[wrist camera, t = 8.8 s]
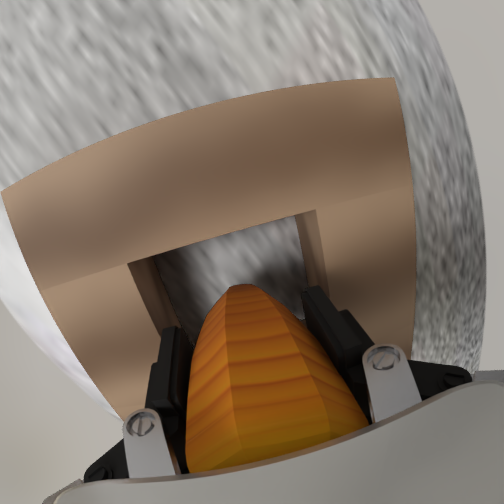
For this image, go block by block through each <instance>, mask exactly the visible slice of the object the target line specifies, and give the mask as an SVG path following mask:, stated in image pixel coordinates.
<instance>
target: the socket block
mask: <svg viewBox="0 0 504 504" xmlns="http://www.w3.org/2000/svg"><path fill="white" fill-rule="evenodd" d="M1 195H2V199H3V202H4V205H5V208H6V211H7V214H8V217H9V220H10V223H11V226H12V229H13V231H14V234H15V237H16V239H17V242H18V244H19V247H20V249H21V252H22V254H23V257H24V259H25V261H26V264H27V266H28V268H29V271H30V273H31V275H32V277H33V279H34V281H35V284H36V286H37V288H38V290H39V292H40V294H41V296H42V298H43V300H44V302H45V304H46V306H47V307H48V309H49V311H50V313H51V315H52V317H53V319H54V320H55V322H56V324H57V326H58V327H59V329H60V331H61V333H62V334H63V336H64V338H65V339H66V341H67V343H68V344H69V346H70V348H71V349H72V351H73V352H74V354H75V356H76V357H77V359H78V360H79V362H80V363H81V365H82V366H83V368H84V369H85V371H86V372H87V374H88V375H89V377H90V378H91V379H92V381H93V382H94V384H95V385H96V386H97V388H98V389H99V391H100V392H101V393H102V395H103V396H104V397H105V399H106V400H107V401H108V402H109V404H110V405H111V406H112V408H113V409H114V410H115V411H116V413H117V414H118V415H119V416H120V418H121V419H122V420H123V421H125V419H126V418H127V417H128V416H129V415H130V414H131V413H133V412H134V411H136V410H139V409H143V408H144V407H145V401H146V394H147V388H148V382H149V376H150V370H151V365H152V364H153V363H155V362H157V359H158V353H159V347H160V341H161V335H162V330H163V329H164V328H167V327H171V326H175V325H176V326H177V327H178V328H182V327H181V325H180V323H179V320H178V318H177V316H176V314H175V311H174V309H173V307H172V304H171V302H170V299H169V297H168V295H167V292H166V290H165V287H164V285H163V282H162V280H161V277H160V275H159V272H158V270H157V267H156V265H155V262H154V259H153V257H152V256H153V255H156V254H159V253H163V252H166V251H169V250H173V249H176V248H179V247H183V246H186V245H190V244H193V243H196V242H200V241H203V240H207V239H210V238H214V237H217V236H221V235H224V234H228V233H231V232H235V231H238V230H242V229H245V228H249V227H252V226H256V225H260V224H263V223H267V222H270V221H274V220H278V219H281V218H285V217H289V216H292V215H295V219H296V224H297V229H298V233H299V238H300V244H301V249H302V254H303V259H304V264H305V270H306V275H307V281H308V286H309V288H310V287H313V286H316V285H319V286H320V287H321V288H322V290H323V291H324V293H325V294H326V295H327V297H328V298H329V299H330V301H331V302H332V303H333V305H334V306H335V307H336V309H337V310H338V311H341V310H344V309H348V310H349V311H350V313H351V314H352V315H353V316H354V318H355V319H356V320H357V322H358V323H359V324H360V325H361V327H362V328H363V329H364V331H365V332H366V333H367V334H368V336H369V337H370V338H371V340H372V341H373V342H374V344H375V345H376V344H380V343H390V344H394V345H397V346H398V347H400V348H401V349H402V350H403V352H404V354H405V356H406V359H407V360H410V359H411V350H412V341H413V330H414V317H415V300H416V225H415V208H414V195H413V184H412V175H411V166H410V158H409V151H408V144H407V138H406V132H405V126H404V120H403V115H402V110H401V105H400V100H399V96H398V91H397V87H396V83H395V79H394V78H370V79H356V80H344V81H334V82H325V83H317V84H309V85H302V86H295V87H289V88H283V89H277V90H272V91H266V92H261V93H256V94H251V95H247V96H242V97H238V98H233V99H229V100H225V101H221V102H217V103H213V104H209V105H205V106H202V107H198V108H194V109H191V110H187V111H184V112H181V113H177V114H174V115H171V116H168V117H165V118H161V119H158V120H155V121H152V122H150V123H147V124H144V125H141V126H138V127H135V128H133V129H130V130H127V131H125V132H122V133H119V134H117V135H114V136H112V137H109V138H107V139H104V140H102V141H100V142H97V143H95V144H93V145H90V146H88V147H86V148H83V149H81V150H79V151H77V152H75V153H72V154H70V155H68V156H66V157H64V158H62V159H60V160H58V161H56V162H54V163H52V164H50V165H48V166H46V167H44V168H42V169H40V170H38V171H36V172H34V173H32V174H31V175H29V176H27V177H25V178H23V179H22V180H20V181H18V182H16V183H15V184H13V185H11V186H9V187H8V188H6V189H4V190H3V191H1ZM301 322H302V323H303V325H304V326H305V327H306V328H307V324H306V319H305V320H301Z"/></svg>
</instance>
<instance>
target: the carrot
mask: <svg viewBox="0 0 504 504" xmlns="http://www.w3.org/2000/svg"><path fill="white" fill-rule="evenodd" d="M367 426H369V423H368V420H367V418H366V416H365V415H364V413H363V411H362V410H361V408H360V406H359V405H358V403H357V401H356V400H355V398H354V396H353V395H352V393H351V391H350V389H349V388H348V386H347V384H346V383H345V381H344V379H343V378H342V376H341V375H339V373H338V371H337V370H336V368H335V366H334V365H333V363H332V361H331V360H330V358H329V356H328V355H327V353H326V352H325V350H324V349H323V347H322V346H321V344H320V343H319V341H318V340H317V339H316V338H315V337H314V335H313V334H312V333H311V332H310V331H309V330H308V329H307V328H306V327H305V326H304V325H303V323H302V322H301V321H300V320H299V319H298V318H297V317H296V316H295V315H294V314H292V313H291V312H290V311H289V310H288V309H287V308H286V307H285V306H284V305H283V304H281V303H280V302H279V301H277V300H276V299H274V298H273V297H271V296H270V295H269V294H267V293H266V292H264V291H263V290H262V289H260V288H258V287H256V286H254V285H252V284H240V285H234V286H231V287H229V289H228V290H227V291H226V292H225V293H224V294H223V295H222V297H221V298H220V299H219V300H218V301H217V302H216V304H215V305H214V306H213V308H212V309H211V310H210V312H209V313H208V314H207V316H206V318H205V321H204V323H203V326H202V328H201V331H200V334H199V337H198V340H197V343H196V347H195V350H194V353H193V357H192V362H191V371H190V380H189V390H188V400H187V420H186V447H185V454H186V461H187V466H188V469H189V472H190V473H197V472H204V471H211V470H217V469H223V468H228V467H234V466H239V465H244V464H249V463H253V462H258V461H262V460H266V459H270V458H274V457H278V456H282V455H285V454H289V453H292V452H296V451H299V450H303V449H306V448H309V447H312V446H315V445H318V444H321V443H324V442H327V441H330V440H333V439H336V438H339V437H341V436H344V435H347V434H349V433H352V432H355V431H357V430H360V429H362V428H365V427H367Z"/></svg>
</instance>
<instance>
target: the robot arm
mask: <svg viewBox="0 0 504 504" xmlns="http://www.w3.org/2000/svg"><path fill="white" fill-rule="evenodd" d="M301 297H302V303H303V308H304V313H305V319H306V324H307V329H308V330H309V331H310V332H311V333H312V334H313V335H314V337H315V338H316V339H317V340H318V341H319V343H320V344H321V346H322V347H323V349H324V350H325V352H326V353H327V355H328V356H329V358H330V360H331V361H332V363H333V365H334V366H335V368H336V370H337V371H338V373H339V375H341V376H342V378H343V379H344V381H345V383H346V384H347V386H348V388H349V389H350V391H351V393H352V395H353V396H354V398H355V400H356V401H357V403H358V405H359V406H360V408H361V410H362V411H363V413H364V415H365V416H366V418H367V420H368V423H369V426H367V427H365V428H362V429H360V430H357V431H355V432H352V433H349V434H347V435H344V436H341V437H339V438H336V439H333V440H330V441H327V442H324V443H321V444H318V445H315V446H312V447H309V448H306V449H303V450H299V451H296V452H292V453H289V454H285V455H282V456H278V457H274V458H270V459H266V460H262V461H258V462H253V463H249V464H244V465H239V466H234V467H228V468H223V469H217V470H211V471H204V472H197V473H190V472H189V469H188V466H187V461H186V454H185V447H186V420H187V400H188V390H189V380H190V371H191V362H192V357H193V353H194V351H193V349H192V347H191V345H190V343H189V341H188V338H187V336H186V334H185V332H184V330H183V328H178V327H177V326H176V325H175V326H171V327H167V328H164V329H163V330H162V335H161V341H160V347H159V353H158V359H157V362H155V363H153V364H152V365H151V370H150V376H149V382H148V388H147V394H146V401H145V407H144V408H143V409H139V410H136V411H134V412H133V413H131V414H130V415H129V416H128V417H127V418H126V419H125V421H124V423H123V437H124V438H123V439H122V440H121V441H120V442H118V443H117V444H116V445H115V446H114V447H112V448H111V449H110V450H109V451H108V452H106V453H105V454H104V455H103V456H102V457H100V458H99V459H98V460H97V461H96V462H94V463H93V464H92V465H91V466H90V467H89V468H88V469H87V470H86V472H85V474H84V480H80V479H78V480H76V481H74V482H73V483H71V484H69V485H68V486H66V487H64V488H63V489H61V490H59V491H57V492H56V493H54V494H53V495H51V496H49V497H47V498H46V499H45V500H44V501H43V503H42V504H504V370H494V371H475V373H474V374H470V373H469V372H468V371H467V370H465V369H464V368H462V367H458V366H451V365H443V364H435V363H428V362H421V361H414V360H407V359H406V356H405V354H404V352H403V350H402V349H401V348H400V347H398V346H397V345H394V344H390V343H380V344H376V345H375V344H374V342H373V341H372V340H371V338H370V337H369V336H368V334H367V333H366V332H365V331H364V329H363V328H362V327H361V325H360V324H359V323H358V322H357V320H356V319H355V318H354V316H353V315H352V314H351V313H350V311H349V310H348V309H344V310H341V311H338V310H337V309H336V307H335V306H334V305H333V303H332V302H331V301H330V299H329V298H328V297H327V295H326V294H325V293H324V291H323V290H322V288H321V287H320V286H319V285H316V286H313V287H310V288H306V289H305V293H302V294H301Z"/></svg>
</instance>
